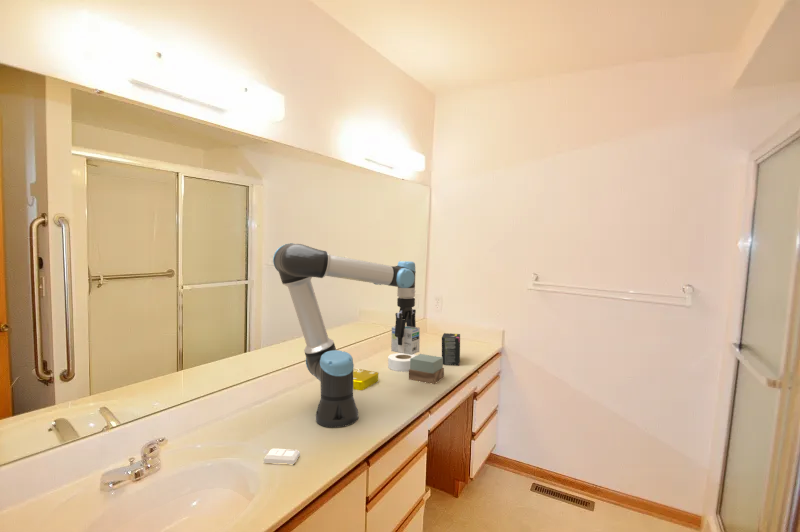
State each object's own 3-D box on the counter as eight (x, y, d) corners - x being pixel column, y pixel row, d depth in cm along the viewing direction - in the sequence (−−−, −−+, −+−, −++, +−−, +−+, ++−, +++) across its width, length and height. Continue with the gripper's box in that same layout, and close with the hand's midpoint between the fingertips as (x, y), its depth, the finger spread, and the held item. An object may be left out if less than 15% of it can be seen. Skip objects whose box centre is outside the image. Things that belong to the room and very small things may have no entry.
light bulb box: (419, 352, 174) (420, 327, 174) (412, 355, 169) (412, 329, 168) (399, 348, 180) (399, 324, 179) (390, 351, 174) (391, 326, 174)
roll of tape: (396, 361, 218) (396, 351, 218) (423, 365, 211) (423, 354, 211) (382, 369, 204) (382, 358, 204) (410, 373, 197) (410, 362, 197)
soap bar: (270, 455, 121) (270, 447, 121) (299, 457, 120) (299, 448, 120) (263, 464, 116) (263, 455, 116) (294, 466, 115) (294, 457, 115)
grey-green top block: (433, 373, 183) (433, 362, 182) (410, 369, 189) (410, 358, 188) (442, 367, 191) (442, 357, 191) (420, 363, 197) (420, 353, 197)
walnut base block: (434, 385, 182) (434, 374, 182) (408, 380, 188) (408, 369, 188) (443, 378, 192) (443, 367, 191) (419, 373, 198) (419, 363, 198)
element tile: (333, 386, 181) (333, 375, 180) (353, 376, 194) (353, 366, 194) (362, 391, 174) (362, 380, 173) (380, 381, 187) (380, 371, 186)
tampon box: (459, 366, 209) (459, 338, 208) (441, 365, 211) (441, 337, 210) (460, 360, 220) (460, 333, 219) (443, 359, 222) (443, 332, 221)
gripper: (402, 300, 163) (401, 357, 164) (424, 295, 180) (423, 346, 181) (386, 299, 166) (385, 354, 168) (409, 294, 183) (408, 344, 185)
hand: (405, 350), depth 174 cm, fingers closed on light bulb box, 7 cm apart
